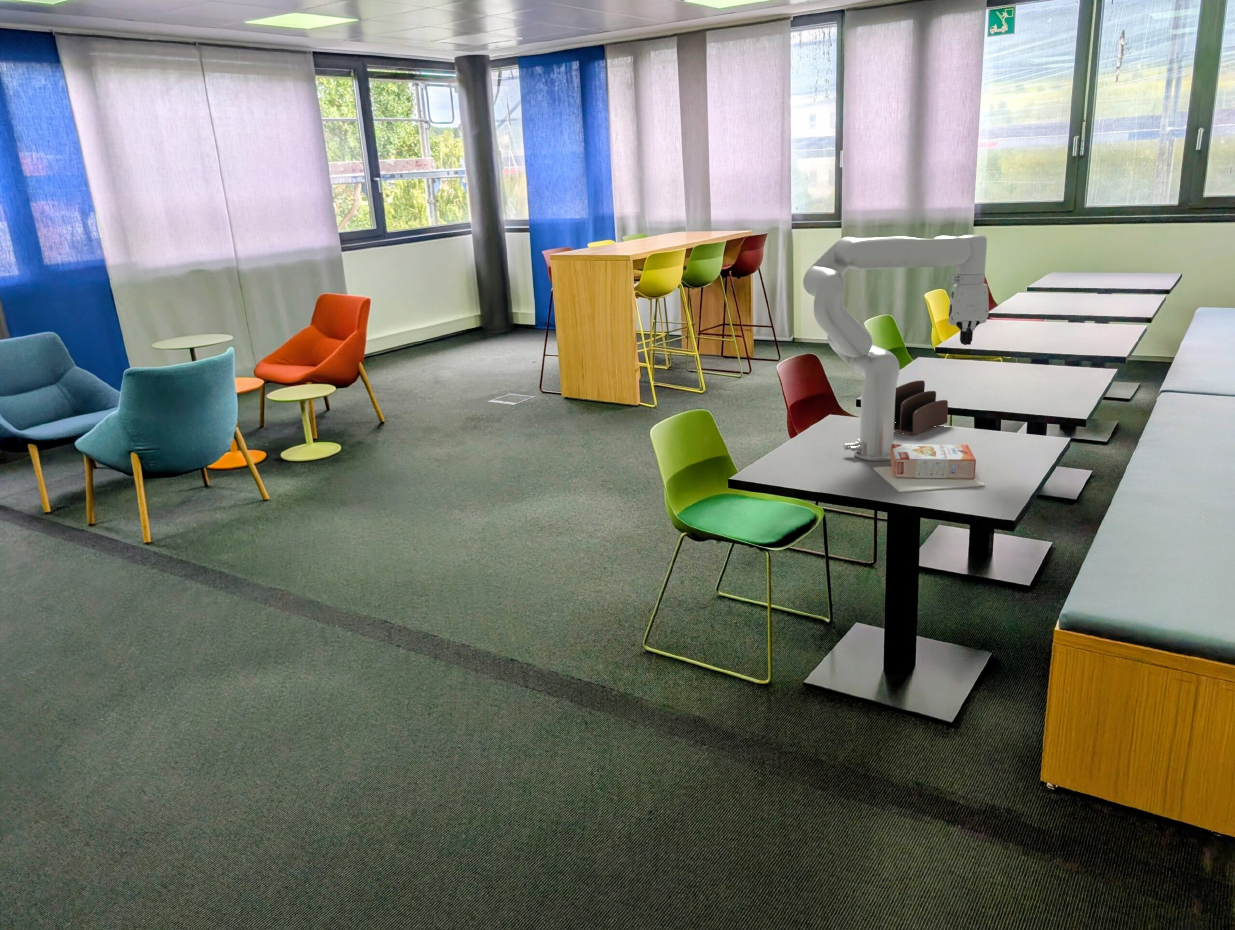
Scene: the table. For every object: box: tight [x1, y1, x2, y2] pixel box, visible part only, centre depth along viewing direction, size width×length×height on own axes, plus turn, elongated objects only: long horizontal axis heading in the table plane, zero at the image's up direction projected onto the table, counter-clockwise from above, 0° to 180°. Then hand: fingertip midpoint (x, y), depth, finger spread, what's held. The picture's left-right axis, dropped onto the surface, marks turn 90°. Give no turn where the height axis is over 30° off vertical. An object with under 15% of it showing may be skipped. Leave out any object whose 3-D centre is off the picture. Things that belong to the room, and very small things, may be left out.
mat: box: [873, 465, 986, 493], centre depth 249 cm, size 23×20×1 cm
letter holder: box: [894, 380, 949, 437], centre depth 293 cm, size 10×20×14 cm, turn 130°
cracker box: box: [890, 443, 977, 479], centre depth 251 cm, size 14×6×21 cm
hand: (965, 344), depth 263 cm, fingers closed
